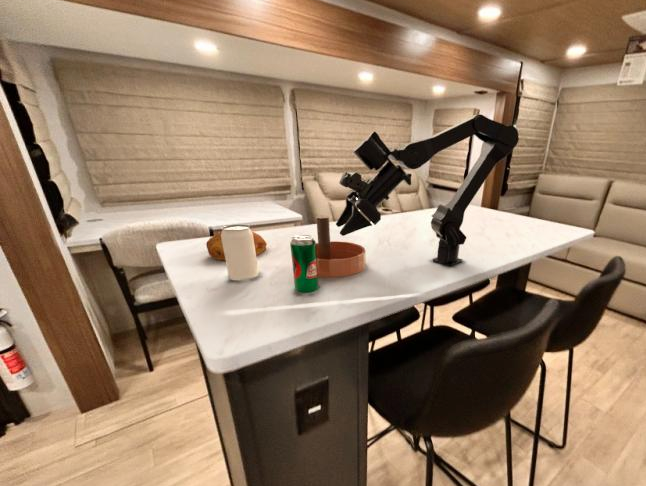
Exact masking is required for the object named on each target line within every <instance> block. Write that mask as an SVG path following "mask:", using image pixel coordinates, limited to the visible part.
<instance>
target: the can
mask: <svg viewBox="0 0 646 486" xmlns="http://www.w3.org/2000/svg"><path fill="white" fill-rule="evenodd" d="M221 232H222V233H221V239H222V244H223V250H224V255H225V260H224V261H225V264H226V270H227V274H228V278H229V279H230V280H231V281H233V282H238V281H244V280H249V279H253V278H255V277H257V276H259V274H260V271H259V265H258V259H257V255H256V251H255V245H254V239H253V233H252V232H253V231H252V229H251V228H250V225H248V224H228V225H223V226H222V227H221Z"/></svg>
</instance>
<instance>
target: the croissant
mask: <svg viewBox="0 0 646 486" xmlns="http://www.w3.org/2000/svg"><path fill="white" fill-rule="evenodd" d="M221 233H222V231H220V232H217V233H216V234H215V235H213V236H211V237H210V238H209V239H208V240H207V241H206V249H207V252H208V254H209V256H211V257H212V258H213V259H215V260H219V261H220V260H221V261H222V260H223V261H226V260H225V255H224V250H223V244H222V239H221ZM252 233H253V239H254V245H255V251H256V256H259V255H260V254H262V253H264V252H265V250H266V249H267V241H266V240H265V239H264V238H263V237H262V236H261V235H260V234H259V233H256V232H254V231H252Z"/></svg>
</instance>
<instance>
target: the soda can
mask: <svg viewBox="0 0 646 486" xmlns="http://www.w3.org/2000/svg"><path fill="white" fill-rule="evenodd" d="M316 243H317V242H316V240H315V239H314V236H313V235H309V234H297V235H293V236H292V237H291V241H290V242H289V245H290V255H291V265H292V273H293V283H294V290H295V291H296V292H297V293H301V294H311V293H314V292H317V291H318V290H319V288H320V283H319V277H318V267H317V254H316Z"/></svg>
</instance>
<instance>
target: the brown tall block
mask: <svg viewBox="0 0 646 486" xmlns="http://www.w3.org/2000/svg"><path fill="white" fill-rule="evenodd" d="M315 218H316V231H317V243H318V249H319V259H326V260H331V246H330V242H331V229H330V216H328V215H317V216H316V217H315Z"/></svg>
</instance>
